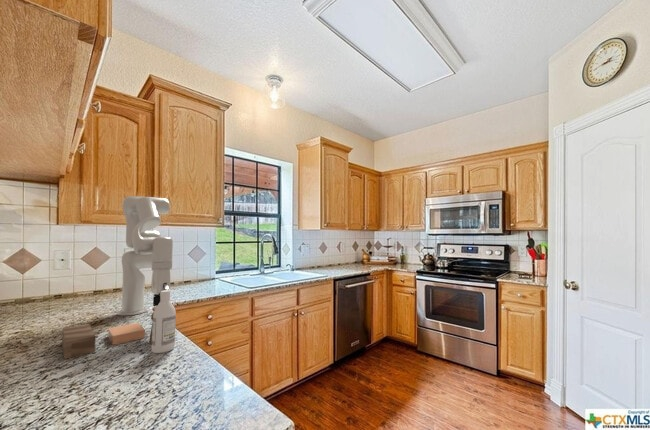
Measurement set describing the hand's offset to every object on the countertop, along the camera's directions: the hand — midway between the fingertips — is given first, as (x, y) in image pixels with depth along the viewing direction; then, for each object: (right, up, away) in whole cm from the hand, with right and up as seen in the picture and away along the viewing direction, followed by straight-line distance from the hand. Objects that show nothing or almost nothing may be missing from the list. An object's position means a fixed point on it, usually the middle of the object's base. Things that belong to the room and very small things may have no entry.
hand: (160, 307), depth 117 cm
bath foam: (+13, -8, -21) cm, 26 cm away
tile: (-9, -9, -8) cm, 15 cm away
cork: (+7, -9, -13) cm, 17 cm away
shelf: (-19, -8, -18) cm, 27 cm away
